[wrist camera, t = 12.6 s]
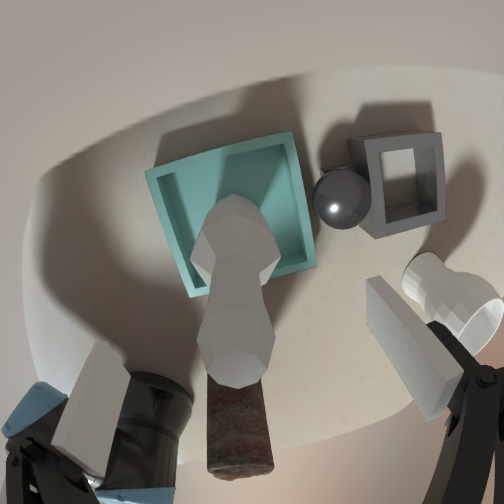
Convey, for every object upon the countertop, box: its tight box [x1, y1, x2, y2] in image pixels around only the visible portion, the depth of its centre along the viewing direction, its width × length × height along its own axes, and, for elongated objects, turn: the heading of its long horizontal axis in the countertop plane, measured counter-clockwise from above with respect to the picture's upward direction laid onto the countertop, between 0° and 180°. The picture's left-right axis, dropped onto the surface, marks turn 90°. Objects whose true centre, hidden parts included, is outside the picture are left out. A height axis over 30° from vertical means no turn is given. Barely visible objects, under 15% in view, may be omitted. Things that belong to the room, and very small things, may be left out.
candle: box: [207, 373, 274, 481], centre depth 31 cm, size 8×7×20 cm
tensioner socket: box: [312, 130, 446, 239], centre depth 28 cm, size 18×11×6 cm, turn 104°
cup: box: [402, 252, 504, 356], centre depth 30 cm, size 11×11×15 cm
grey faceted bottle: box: [190, 192, 281, 389], centre depth 21 cm, size 6×6×22 cm
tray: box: [144, 131, 317, 298], centre depth 30 cm, size 15×15×4 cm
